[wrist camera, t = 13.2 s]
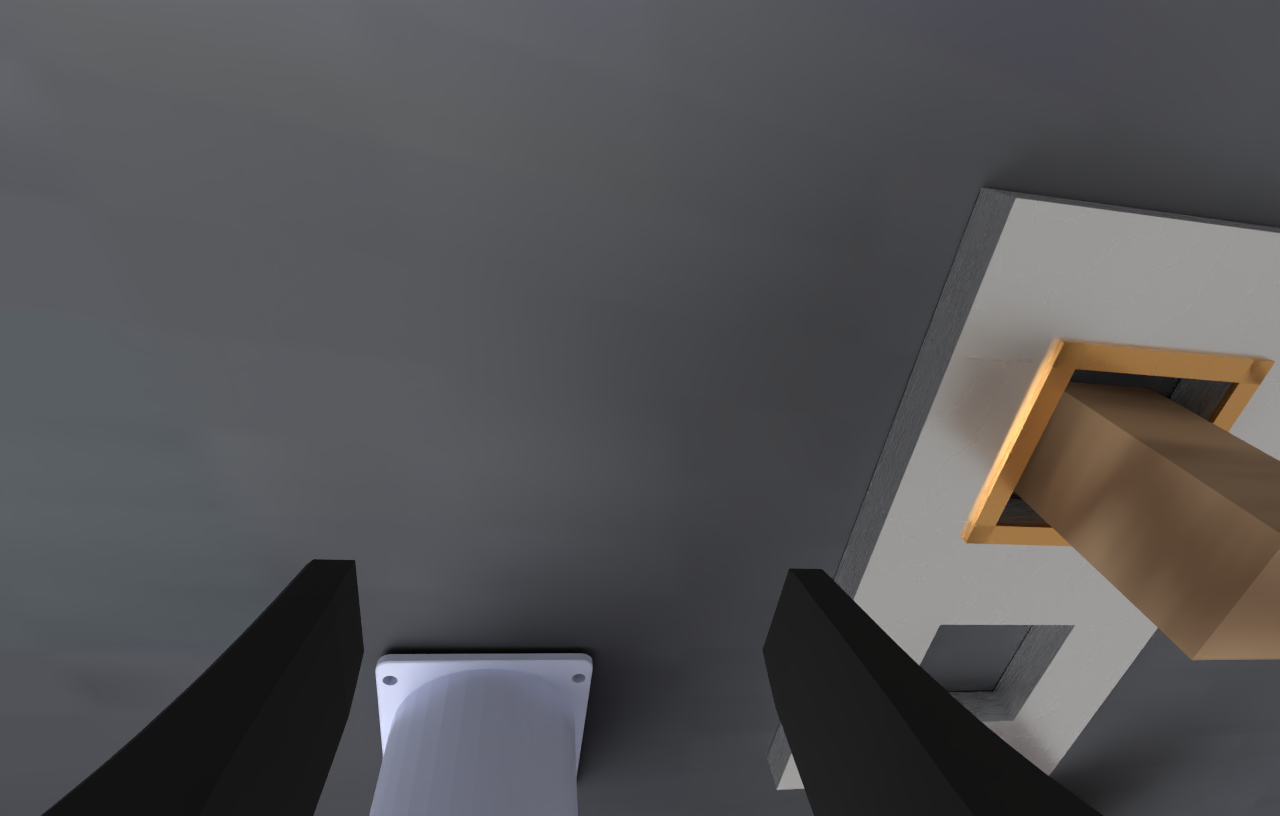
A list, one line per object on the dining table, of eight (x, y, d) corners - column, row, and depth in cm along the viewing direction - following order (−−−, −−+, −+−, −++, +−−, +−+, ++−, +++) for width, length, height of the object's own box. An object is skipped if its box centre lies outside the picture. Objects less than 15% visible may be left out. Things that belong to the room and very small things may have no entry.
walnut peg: (1094, 482, 24) (1317, 658, 17) (1000, 478, 23) (1192, 660, 16) (1148, 387, 22) (1424, 542, 15) (1047, 380, 21) (1287, 538, 14)
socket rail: (1027, 748, 32) (1050, 781, 31) (767, 757, 30) (778, 794, 28) (1375, 240, 20) (1440, 255, 19) (982, 187, 18) (1021, 199, 16)
